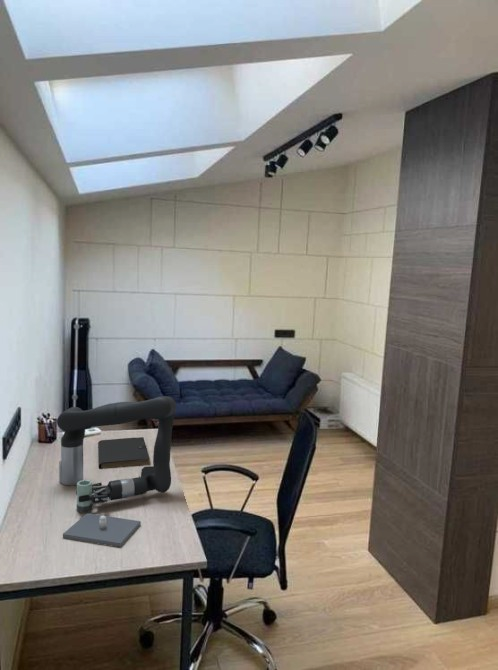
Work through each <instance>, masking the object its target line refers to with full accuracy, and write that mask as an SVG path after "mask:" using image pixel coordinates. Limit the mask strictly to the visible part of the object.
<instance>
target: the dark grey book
mask: <svg viewBox="0 0 498 670" xmlns="http://www.w3.org/2000/svg"><path fill="white" fill-rule="evenodd" d="M97 449H98V451H97V452H98V453H97V455H98V456H97V457H98V469H101V468H105V469H115V468H129V467H141V466H150V458H151V457H150V455H149V454H150V453H149V452H148V447H147V444H146V442H145V439H144V436H142V437H141V436H140V437H125V438H111V439H110V438H109V439H102V440H99V441H98V442H97Z"/></svg>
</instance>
